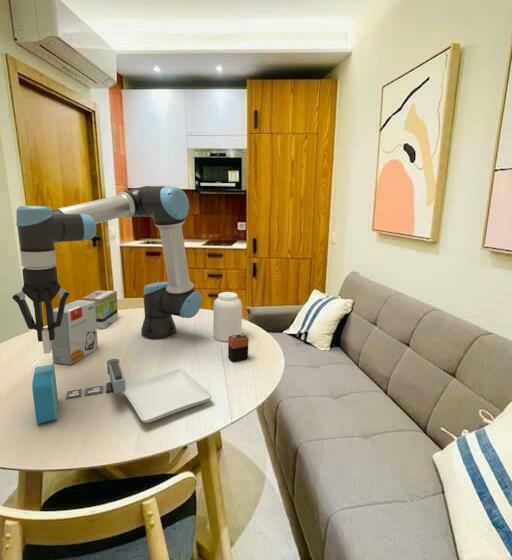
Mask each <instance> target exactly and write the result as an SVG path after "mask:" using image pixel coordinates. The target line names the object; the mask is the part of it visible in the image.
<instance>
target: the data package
mask: <svg viewBox="0 0 512 560" xmlns="http://www.w3.org/2000/svg"><path fill="white" fill-rule="evenodd" d="M54 364H55V363H54ZM54 364H53V363H52V364H48V365H46V364H45V365H41V366H36V367H34V373H33V376H32V383H31V384H32V385H31V390H32V396H33V404H34V412H35V413H34V414H35V419H36V424H37V425H41V424H46V423H48V422H52V421H56V420H57V419H58V405H59V402H58V401H59V399H58V396H59V395H58V388H57V381H56V380H57V379H56V370H55V365H54Z"/></svg>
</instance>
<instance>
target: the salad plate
mask: <svg viewBox="0 0 512 560" xmlns="http://www.w3.org/2000/svg"><path fill="white" fill-rule="evenodd" d="M125 387H126V391H124V392H121V393H122V394H123V395H124V397H126V398H127V400H128V401H129V402H130V404H131V405H132V407H133V408H134V410H135V412H136V414H137V415H138V418H139V419H140V421H142V422H143V423H152V422H156V421H157V420H160V419H163V418H165V417H168V416H171V415H173V414H177V413H179V412H182V411H184V410H188V409H190V408H193V407H196V406H199V405H201V404H204V403H206V402H208V401H209V400H211V399H212V397H213V395H212V394H211V393H210V392H209V391H208V389H206V388H205V387H204V386H203V385H201V383H199V382H198V381H197V380H196V379H195V378H194V377H192V376H191V375H190V374H189V373H188V372H187V371H186V370H184V368H178V369H174V370H171V371H168V372H164V373H160V374H157V375H152V376H150V377H145V378H142V379H139V380H135V381H133V382H130V383H125Z"/></svg>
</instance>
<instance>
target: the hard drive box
mask: <svg viewBox="0 0 512 560" xmlns="http://www.w3.org/2000/svg"><path fill="white" fill-rule="evenodd" d="M58 309H59V306H58V307H55V308H53V315H54V322H56V319H57V314H58ZM54 329H55V338H54V340H51V344H52V350H51V354H52V364H53V363H54V364H60V365H67V366H71V365H73V364H74V363H77V362H78V361H80V360H81V359H83V358H85V357H87V356H88V355H89V354H91V353H93V352H94V351H96V350H97V349H99V344H98V329H97V324H96V308H95V301H86V300H82V299H78V300H74V301H72V302H69V303H65V308H64V313H63V318H62V323H61V325H60V326H59V327H56V328H54Z"/></svg>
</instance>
